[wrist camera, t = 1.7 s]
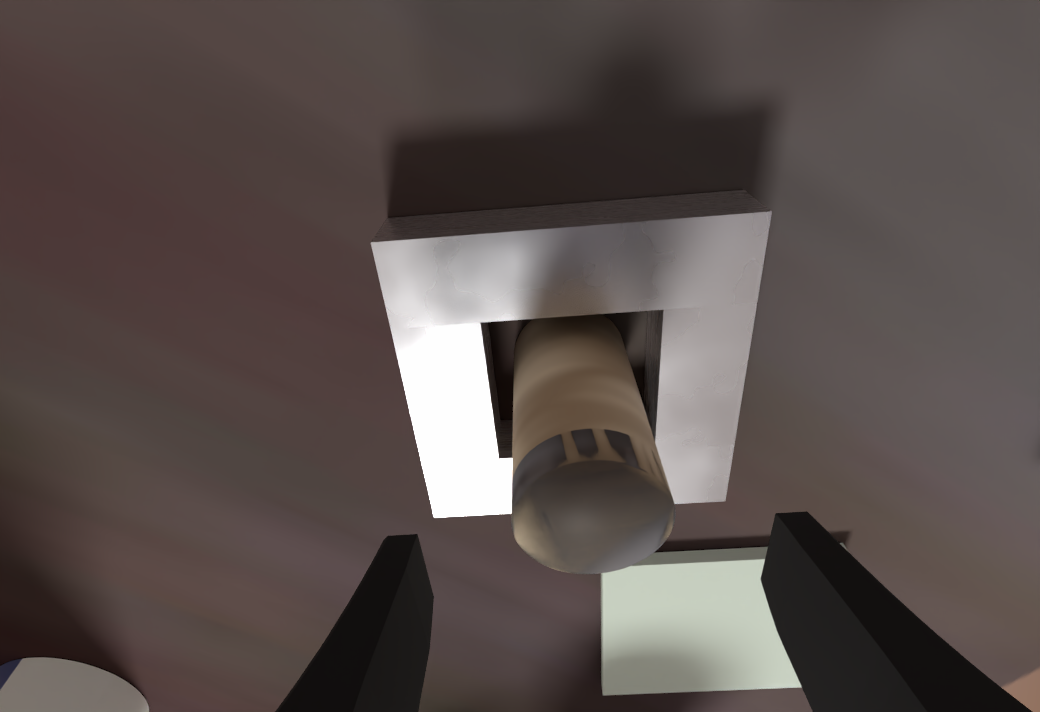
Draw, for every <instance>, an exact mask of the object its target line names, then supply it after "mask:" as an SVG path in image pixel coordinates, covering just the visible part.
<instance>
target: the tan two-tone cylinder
mask: <svg viewBox="0 0 1040 712" xmlns="http://www.w3.org/2000/svg"><path fill="white" fill-rule="evenodd" d="M674 521H675V505H674V500H673V497H672V494H671V491H670V488H669V485H668V482H667V478H666V475H665V472H664V469H663V466H662V463H661V459H660V456H659V453H658V450H657V447H656V444H655V441H654V437H653V434H652V431H651V428H650V425H649V422H648V418H647V415H646V412H645V409H644V406H643V403H642V400H641V396H640V393H639V390H638V387H637V384H636V381H635V378H634V374H633V371H632V368H631V365H630V362H629V359H628V355H627V352H626V349H625V346H624V343H623V340H622V337H621V334H620V332H619V331H618V329H617V327H616V326H615V325H614V324H613V322H612V321H611V320H609V319H608V318H607V317H606V316H604V315H603V314H594V315H580V316H566V317H552V318H537V319H532V320H531V321H530V322H529V323H528V324H527V325H526V326H525V327H524V328H523V330H522V331H521V333H520V334H519V336H518V339H517V341H516V344H515V350H514V385H513V442H512V498H511V526H512V531H513V534H514V537H515V539H516V541H517V542H518V544H519V546H520V547H521V548H522V549H523V550H524V551H525V552H526V553H527V554H528V555H529V556H530V557H531V558H533V559H534V560H536V561H538V562H539V563H541V564H543V565H545V566H547V567H550V568H553V569H556V570H560V571H563V572H569V573H576V574H599V573H607V572H612V571H616V570H620V569H624V568H626V567H629V566H632V565H634V564H636V563H638V562H640V561H642V560H644V559H645V558H647V557H649V556H650V555H651V554H653V553H654V552H655V551H656V550H657V549H658V548H659V547H661V546H662V544H663V543H664V542H665V541H666V539H667V538H668V536H669V535H670V533H671V531H672V528H673V526H674Z"/></svg>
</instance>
